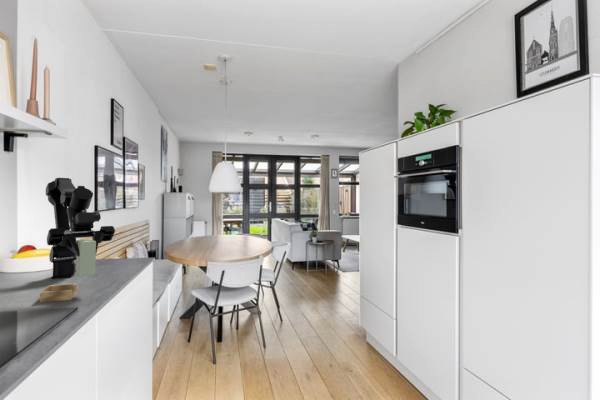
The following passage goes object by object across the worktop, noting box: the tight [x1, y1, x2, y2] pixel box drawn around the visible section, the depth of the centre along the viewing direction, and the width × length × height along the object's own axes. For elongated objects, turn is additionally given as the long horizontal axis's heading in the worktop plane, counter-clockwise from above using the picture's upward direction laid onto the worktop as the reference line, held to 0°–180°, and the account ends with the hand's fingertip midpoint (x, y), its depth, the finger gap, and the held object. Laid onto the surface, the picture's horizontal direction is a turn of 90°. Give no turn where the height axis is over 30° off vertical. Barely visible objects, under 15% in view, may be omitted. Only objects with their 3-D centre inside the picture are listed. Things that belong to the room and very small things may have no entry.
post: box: [75, 239, 97, 277], centre depth 106 cm, size 4×4×11 cm
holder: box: [39, 283, 78, 303], centre depth 102 cm, size 8×8×3 cm
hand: (87, 254), depth 105 cm, fingers closed on post, 4 cm apart
